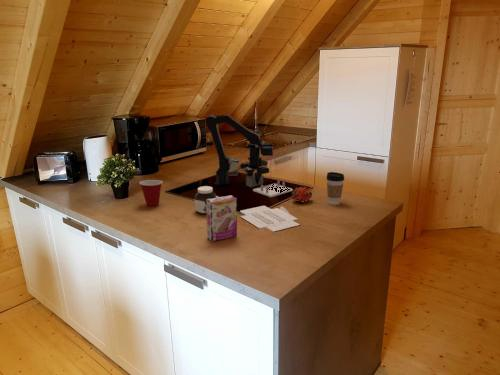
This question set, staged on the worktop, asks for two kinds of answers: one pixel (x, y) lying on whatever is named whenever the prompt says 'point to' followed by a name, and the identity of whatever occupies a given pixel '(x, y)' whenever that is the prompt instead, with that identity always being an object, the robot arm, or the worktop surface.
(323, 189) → the worktop surface
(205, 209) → the spread jar
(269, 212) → the paper stack
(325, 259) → the worktop surface
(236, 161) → the food container
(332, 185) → the coffee cup
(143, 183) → the plastic cup
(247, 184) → the drive
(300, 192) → the dragon fruit
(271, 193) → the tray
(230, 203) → the candy bar box
